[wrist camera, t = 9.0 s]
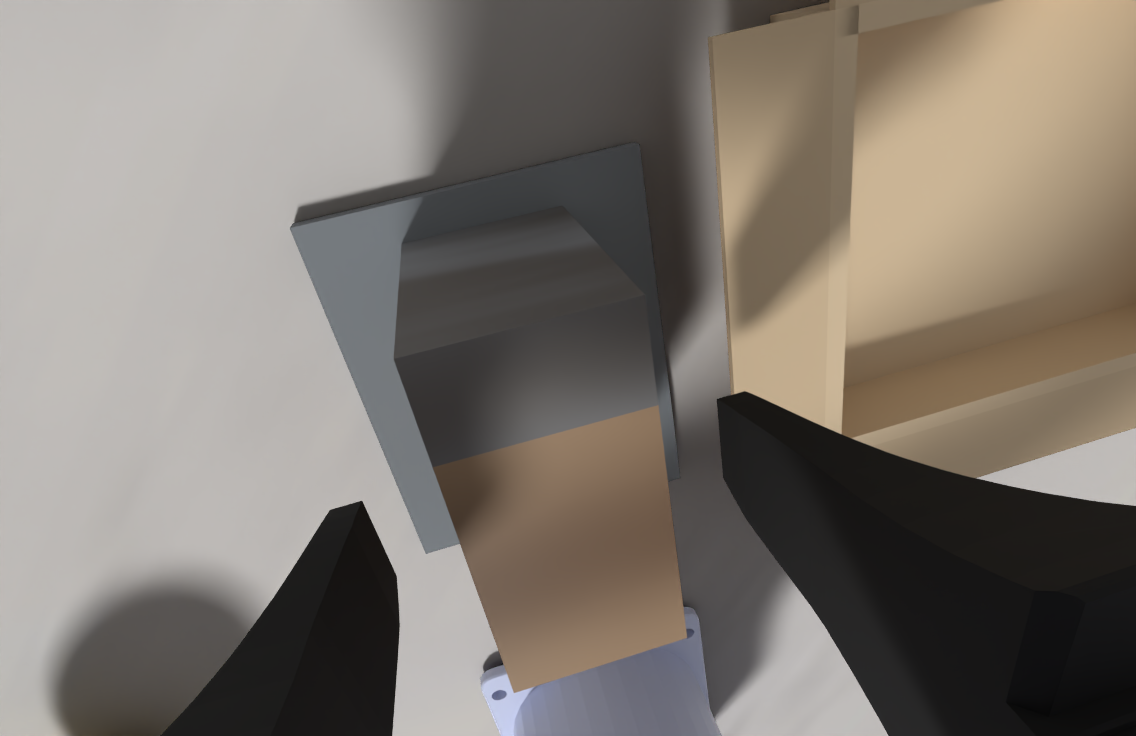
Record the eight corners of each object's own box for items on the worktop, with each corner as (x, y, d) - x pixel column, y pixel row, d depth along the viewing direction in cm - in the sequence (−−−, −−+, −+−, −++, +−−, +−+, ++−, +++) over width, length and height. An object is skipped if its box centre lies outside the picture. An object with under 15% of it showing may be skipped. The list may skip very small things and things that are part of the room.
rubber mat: (675, 470, 19) (680, 477, 19) (425, 544, 19) (425, 553, 18) (634, 142, 15) (639, 144, 14) (292, 223, 14) (289, 228, 13)
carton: (1181, 353, 22) (1264, 387, 20) (708, 496, 20) (744, 550, 18) (1390, -246, 14) (1565, -298, 12) (651, -100, 12) (701, -131, 10)
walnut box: (610, 470, 18) (687, 638, 13) (485, 505, 18) (513, 692, 13) (562, 205, 14) (645, 295, 9) (401, 243, 14) (393, 359, 9)
